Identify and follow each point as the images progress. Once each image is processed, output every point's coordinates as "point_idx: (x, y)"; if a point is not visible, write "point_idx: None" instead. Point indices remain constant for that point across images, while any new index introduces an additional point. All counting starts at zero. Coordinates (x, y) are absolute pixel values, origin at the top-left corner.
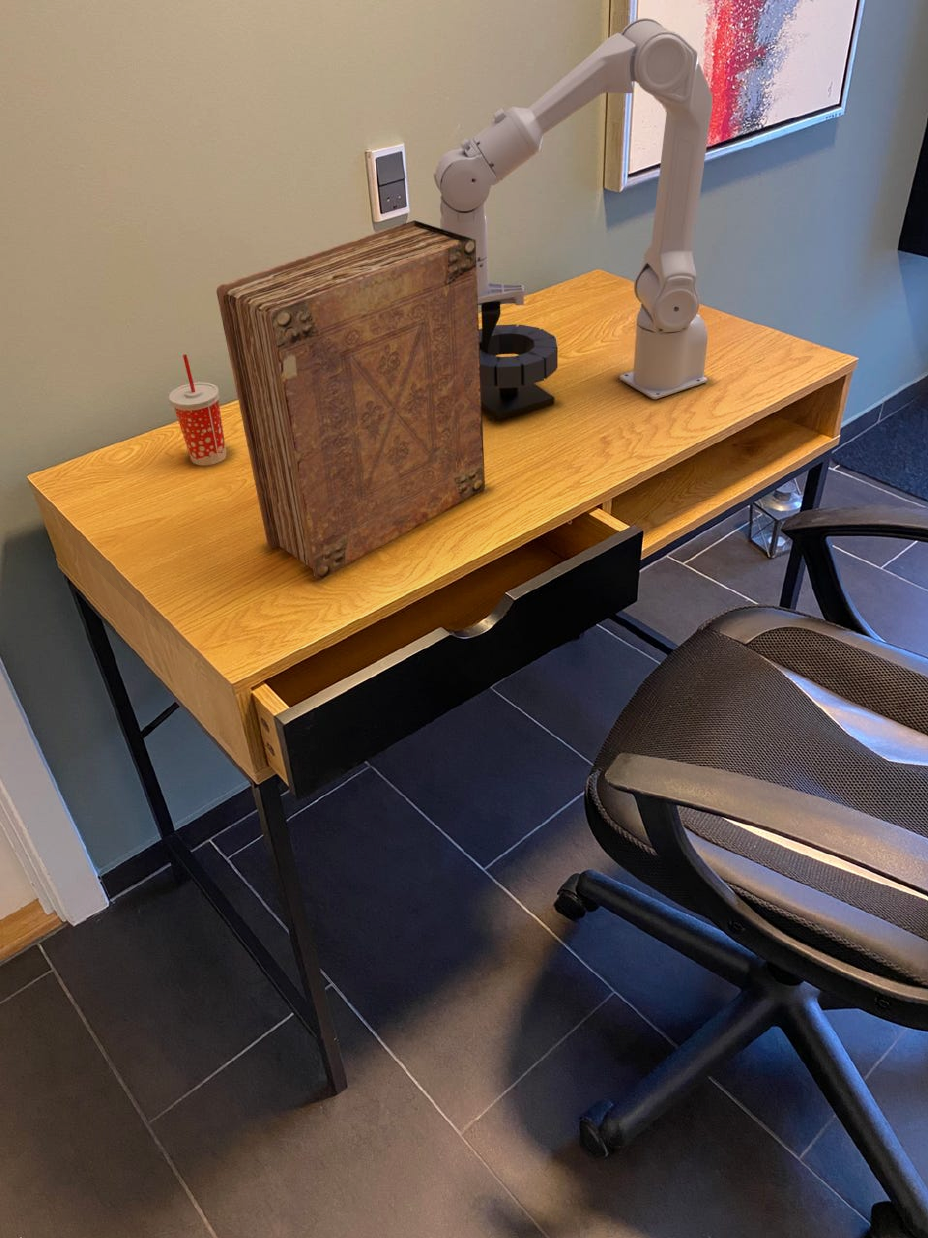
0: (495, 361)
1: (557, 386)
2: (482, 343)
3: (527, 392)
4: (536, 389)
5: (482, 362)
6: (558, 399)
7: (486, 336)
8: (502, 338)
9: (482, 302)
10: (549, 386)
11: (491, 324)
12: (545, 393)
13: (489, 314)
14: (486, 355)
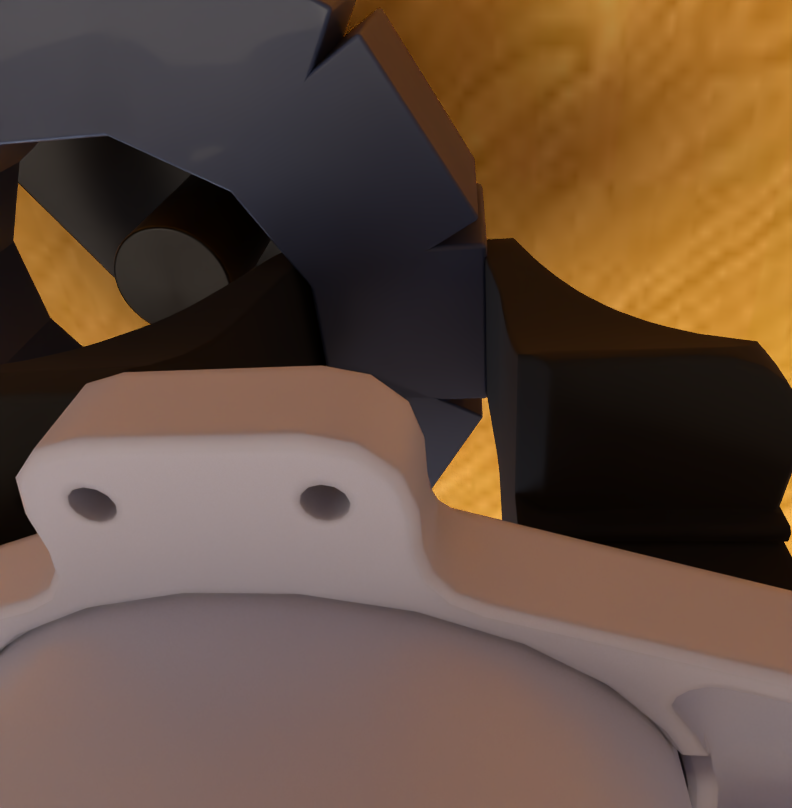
0: (118, 29)
1: (71, 318)
2: (268, 286)
3: (142, 211)
4: (109, 241)
5: (233, 2)
6: (24, 204)
7: (210, 310)
8: None
9: (18, 540)
10: (103, 320)
11: (94, 353)
12: (52, 197)
13: (9, 390)
14: (232, 165)
